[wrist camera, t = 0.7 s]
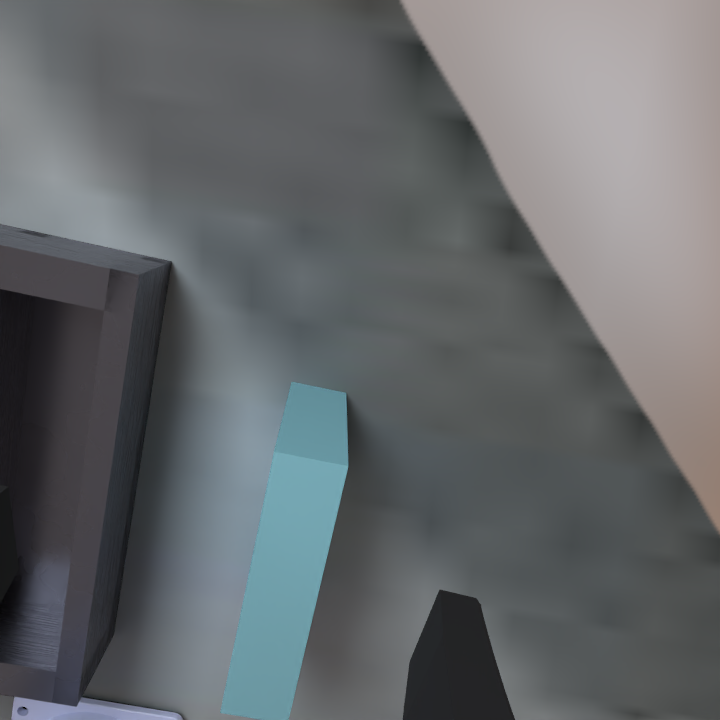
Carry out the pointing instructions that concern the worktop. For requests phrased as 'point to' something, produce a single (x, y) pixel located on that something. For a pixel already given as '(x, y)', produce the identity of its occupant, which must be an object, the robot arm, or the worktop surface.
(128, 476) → the rack
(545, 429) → the worktop surface
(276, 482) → the block
